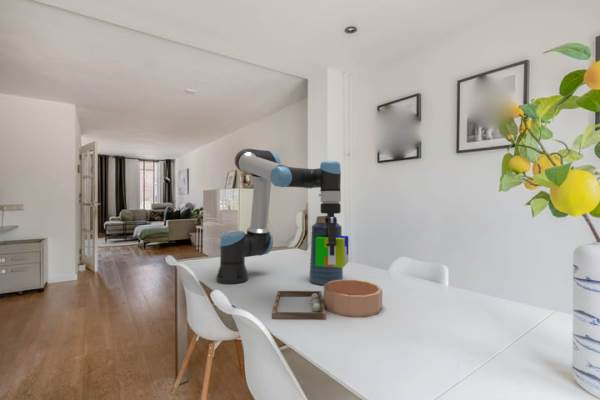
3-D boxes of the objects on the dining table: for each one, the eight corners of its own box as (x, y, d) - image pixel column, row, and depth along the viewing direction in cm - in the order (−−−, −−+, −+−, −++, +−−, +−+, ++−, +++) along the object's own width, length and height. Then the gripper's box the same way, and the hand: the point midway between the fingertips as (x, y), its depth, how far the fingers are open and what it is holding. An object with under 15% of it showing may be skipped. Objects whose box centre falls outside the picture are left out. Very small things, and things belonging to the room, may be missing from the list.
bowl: (322, 296, 124) (322, 279, 124) (373, 296, 124) (373, 279, 124) (326, 316, 102) (326, 296, 102) (388, 317, 102) (388, 296, 102)
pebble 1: (311, 299, 120) (311, 292, 119) (318, 299, 119) (318, 292, 119) (311, 302, 116) (311, 294, 116) (319, 302, 116) (319, 294, 116)
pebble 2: (310, 302, 113) (310, 298, 111) (318, 301, 114) (317, 296, 112) (312, 309, 111) (312, 305, 109) (320, 307, 111) (319, 303, 109)
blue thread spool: (348, 280, 148) (348, 216, 148) (333, 288, 135) (334, 218, 135) (319, 275, 157) (319, 215, 157) (303, 282, 143) (303, 216, 143)
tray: (277, 295, 124) (277, 290, 124) (321, 295, 124) (321, 291, 124) (272, 318, 100) (272, 313, 100) (325, 319, 100) (325, 313, 100)
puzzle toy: (348, 262, 114) (348, 236, 114) (342, 267, 105) (342, 239, 105) (323, 260, 118) (323, 234, 118) (315, 265, 109) (315, 237, 109)
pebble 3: (312, 309, 108) (312, 301, 108) (320, 309, 108) (320, 301, 108) (312, 313, 106) (312, 304, 105) (320, 313, 105) (320, 304, 105)
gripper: (319, 202, 124) (319, 255, 124) (321, 203, 100) (321, 267, 100) (337, 202, 124) (337, 255, 124) (344, 203, 100) (344, 268, 100)
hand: (330, 260), depth 112 cm, fingers closed on puzzle toy, 12 cm apart
